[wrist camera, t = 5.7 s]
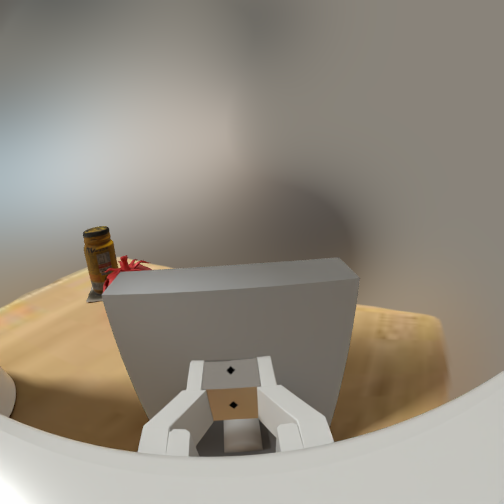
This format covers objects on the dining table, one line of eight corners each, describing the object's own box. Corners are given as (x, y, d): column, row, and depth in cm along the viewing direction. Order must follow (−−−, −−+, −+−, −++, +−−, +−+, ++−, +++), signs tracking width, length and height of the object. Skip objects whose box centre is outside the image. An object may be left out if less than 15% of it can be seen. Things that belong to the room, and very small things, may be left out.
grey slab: (326, 436, 18) (359, 277, 13) (164, 448, 17) (101, 294, 12) (318, 410, 21) (338, 257, 16) (168, 421, 20) (120, 271, 15)
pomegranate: (174, 297, 46) (167, 245, 43) (150, 329, 36) (138, 268, 33) (125, 293, 47) (116, 244, 44) (96, 321, 37) (82, 265, 34)
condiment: (125, 279, 53) (114, 222, 49) (123, 297, 45) (109, 232, 41) (93, 285, 50) (80, 228, 46) (86, 303, 43) (70, 239, 39)
